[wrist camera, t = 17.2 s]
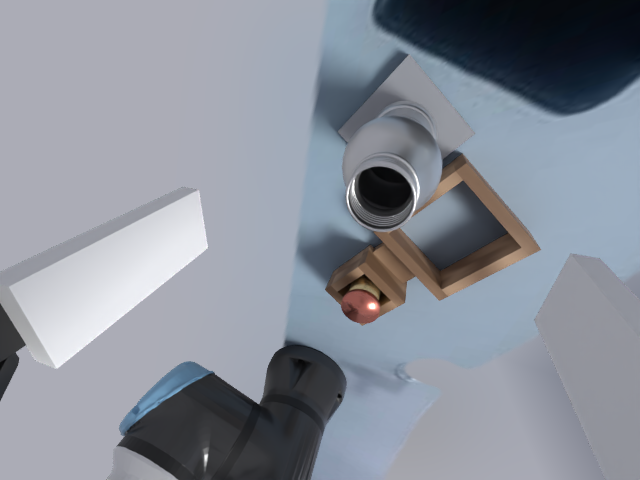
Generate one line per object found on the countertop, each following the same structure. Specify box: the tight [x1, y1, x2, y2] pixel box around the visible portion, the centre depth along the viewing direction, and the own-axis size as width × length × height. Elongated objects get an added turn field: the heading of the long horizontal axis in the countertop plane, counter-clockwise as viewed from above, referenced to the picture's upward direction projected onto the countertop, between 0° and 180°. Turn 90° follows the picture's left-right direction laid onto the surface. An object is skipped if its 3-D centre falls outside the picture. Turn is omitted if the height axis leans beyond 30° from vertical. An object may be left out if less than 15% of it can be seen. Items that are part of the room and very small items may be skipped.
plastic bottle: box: [342, 100, 442, 232], centre depth 23 cm, size 6×7×20 cm
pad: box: [338, 54, 475, 160], centre depth 32 cm, size 10×10×1 cm
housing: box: [325, 153, 541, 326], centre depth 37 cm, size 23×12×4 cm, turn 138°
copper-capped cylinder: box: [341, 274, 381, 324], centre depth 40 cm, size 5×5×7 cm
